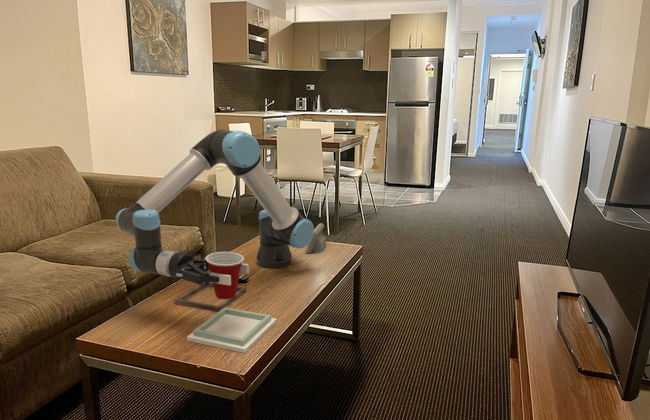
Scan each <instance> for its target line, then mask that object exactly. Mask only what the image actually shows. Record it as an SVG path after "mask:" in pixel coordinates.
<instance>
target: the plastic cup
mask: <svg viewBox="0 0 650 420" xmlns="http://www.w3.org/2000/svg"><path fill="white" fill-rule="evenodd" d="M244 260H245V258H244V256H243V255H241V254H240V253H237V252H232V251H217V252H212V253H210V254H207V256H206V261H207V262H208V266H209V269H210V270H209V273H211V272H213V273H219V274H225V275H231V285H224V284H218V283H213V286H214V288H213V289H214V294H215V296H216V299H219V300H226V299H230V298H233V297H235V295H236V293H237V286H239V285H238V284H239V278H240V274H241V273H240V267H241V264H242V263H243V262H244Z"/></svg>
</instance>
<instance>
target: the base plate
mask: <svg viewBox="0 0 650 420" xmlns="http://www.w3.org/2000/svg"><path fill="white" fill-rule="evenodd" d="M277 323H278V319H277V318H274V317H272V315H271V314H265V313H259V312H253V311H249V310H242V309H238V308H232V307H228V306H226V307H225V308H223V309H222V310H221V311H219V312H216V313H215V314H214V315H212V316H211V317H210V318H208V319H207V320H205V321H204V322H203V323H201V324H200V325H199V326H197V327H196V328H195V329H194V330H193V331H192V332H191V333H190V334H188V335H187V336H186V341H187V342H191V343H196V344H200V345H206V346H209V347H215V348H218V349H225V350H228V351H233V352H237V353H242V354H247V353H248V352H249V350H251V349H252V347H254V346H255V345H256V344H257V343H258V342H259V341H260V340H261V339H262V338H263V337H264V336H265V335H266V334H267V333H268V332H269V331H270V330H271V329H272V328H273V327H274V326H275V325H276V324H277Z"/></svg>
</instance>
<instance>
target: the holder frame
mask: <svg viewBox="0 0 650 420" xmlns="http://www.w3.org/2000/svg"><path fill="white" fill-rule="evenodd" d="M205 288H213V289H214V286H213V283H212V282H209V285H205V282H203V284H202V285H199V284H197V286H195V287H194V288H191V289H190V290H188V291H186V292H185V293H184V294H182V295H180V296H179V297H177V298H175V299H174V305H177V306H178V305H179V306H185V307H190V308H195V309H200V310H206V311H210V312H211V311H212V312H216V313H218V312H219V311H221V310H222V309H223V308H225V307H228V306H229V305H231V304H232V303H234V302H235V301H236V300H237V299H239V298H240V297H242V296H243V295H244V294H245V293H247V287H244V286H239V285H237V293H236V295H235V297H233V298H230V299H224V300H223V301H222V302H221V303H219V304H218V305H215V304H210V303H205V302H204V303H203V302H199V301H193V300H187V299H188V298H190V297H192V296H193V295H195V294H197V293H198V292H200V291H202V290H203V289H205Z"/></svg>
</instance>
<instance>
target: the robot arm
mask: <svg viewBox="0 0 650 420" xmlns="http://www.w3.org/2000/svg"><path fill="white" fill-rule="evenodd" d="M258 142H259V141H258V140H257V139H256V138H255V137H254V136H253V135H252V134H250V133H248V132H245V131H241V130H228V129H227V130H226V129H217V130H214V131H212V132H210V133H209V134H207V135H205V136H204V137H203V138H202V139H201V140H199V141H198V142H197V143H196V144H195V145H194V146H192V148H190V149H189V154H188V155H187V156H186V157H185V158H183V160H181V161H180V162H179V163H178V164H177V165H176V166H175V167H173V168H172V170H170V171H169V172H168V173H166V175H164V177H162V178H161V180H159V181H158V182H156V184H155V185H154V186H152V188H150V189H149V190H148V191H147V192H146V193H145V194H144V195H142V196H141V197H140V198H139V199H138V200H137V201H136V202H134V203H133V204H132V205H131V206H130V207H126V208H122V209H120V210H119V211H118V212H117V214H116V216H115V225H116V226H117V227H118V228H119V229H120V230H121V231H122V232H124V233H127V234H129V235H130V236H132V237H134V241H135V242H134V243H135V247H134V248H133V249H131V251H130V252H129V257H128V263H129V266H130V268H132V269H133V270H136V271H138V272H142V273H148V274H149V273H150V274H155V275H162V276H166V277H168V278H169V277H172V278H176V279H177V280H184V281H187V282H190V283H194V284H196V285H202V284H203V282H205V285H209V282H212V283H218V284H224V285H231V275H225V274H219V273H213V272H211V273H210V272H209V271H210V269H209V266H208V262H207V261H206V257H207V256H206V255H205V256H202V259H199V258H193V257H192V255H191V254H189V253H186V252H178V251H174V250H173V251H172V250H165V249H163V248H162V247H163V246H162V236H161V235H162V234H161V232H162V231H161V220H160V214H159V213H160V212H161V211H162V210H164V208H165V207H167V206H168V205H169V204H170V203H171V202H172V201H173V200H174V199H176V198H177V196H179V195H180V194H181V193H182V192H183V191H184V190H185V189H186V188H187V187H188V186H190V185H191V184H192V183H193V182H194V181H195V180H196V179H197V178H198V177H199V176H200V175H202V173H204V171H210V170H211V169H212V168H213V167H214V166H216V165H219V164H224V165H225V166H226V167H227V168H228V170H229V171H230V172H231V173H232V175H233V176H234V177H240V179H241V180H242V181H243V182H244V184H245V185H246V186H247V188H248V189H249V190H250V192H251V193H252V195H253V196H254V197H255V199H256V200H257V201H258V202H259V204H260V205H261V207H262V208H263V209H262V210H260V212H259V213H258V224H259V225H258V226H259V227H258V228H259V229H258V231H259V246H258V251H257V255H256V259H255V260H256V262H255V263H256V265H258V266H259V267H263V268H267V269H278V268H285V267H287V266H290V265H291V264H292V263H293V254H292V252H291V249H290V246H291V247H292V248H295V249H296V248H297V249H303V248H305V247H307V245H308V244H309V243H310V241H311V239H312V237H313V233H314V229H315V227H314V224H313V222H312V221H311V220H309V219H308V218H304V217H303V216H302V214H301V213H300V212H299V210H298V208H297V207H292V206H290V204H289V202H288V201H287V200H286V198H285V197H284V194H283V193H282V192H281V191H280V189H279V188H278V186H277V185H276V183H275V182H274V180H273V179H272V177H270V175H269V173H268V171H266V169H265V168H264V165H262V163H261V162H262V156H261V152H260V151H261V149H260V144H259V143H258ZM249 273H250V268H249V263H243V262H242V264H241V267H240V273H239V274H249Z"/></svg>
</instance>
